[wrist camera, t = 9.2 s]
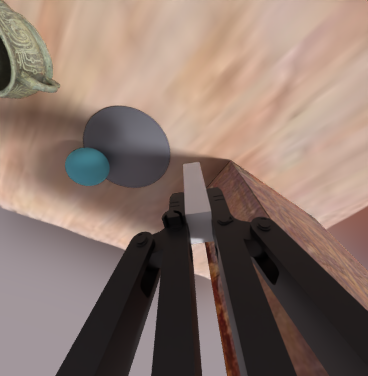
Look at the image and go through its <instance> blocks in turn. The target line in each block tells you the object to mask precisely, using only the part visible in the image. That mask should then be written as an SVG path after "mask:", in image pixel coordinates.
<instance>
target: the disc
mask: <svg viewBox="0 0 368 376" xmlns="http://www.w3.org/2000/svg"><path fill="white" fill-rule="evenodd" d="M83 144H84V148H93V149H96V150H98V151H100V152H101V153H102V154H103V155H104V156H105V157H106V158H107V160H108V162H109V167H110V168H109V174H108V176H107V177H106V179H107V180H109V181H111V182H113V183H115V184H117V185H120V186H124V187H131V188H137V187H144V186H147V185H150V184H152V183H154V182H156V181H157V180H158V179H159V178H161V176H162V175H163V174H164V173H165V171H166V169H167V167H168V164H169V160H170V148H169V143H168V140H167V137H166V135H165V133H164V132H163V130H162V128H161V127H160V126H159V125H158V123H157V122H156V121H155V120H154V119H152V118H151V117H150V116H148V115H147V114H145V113H144V112H142V111H140V110H137V109H134V108H131V107H126V106H114V107H109V108H105V109H103V110H101V111H99V112H98V113H96V114H95V115H94V116H93V117H92V118H91V119H90V120H89V122H88V123H87V125H86V127H85V131H84V137H83Z"/></svg>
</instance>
